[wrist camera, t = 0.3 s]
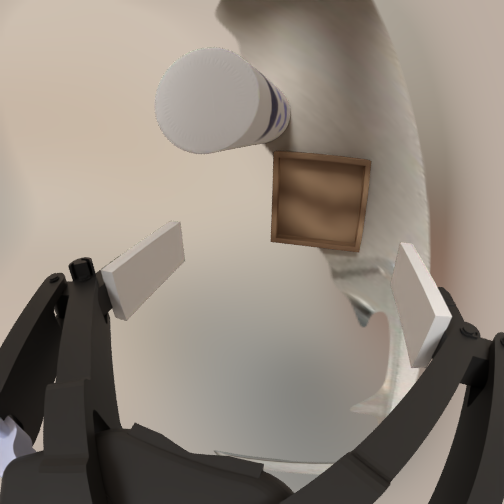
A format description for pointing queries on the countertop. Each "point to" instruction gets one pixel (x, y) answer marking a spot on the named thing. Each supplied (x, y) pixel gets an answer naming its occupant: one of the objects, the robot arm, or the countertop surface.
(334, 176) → the stand
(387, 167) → the countertop surface
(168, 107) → the container
